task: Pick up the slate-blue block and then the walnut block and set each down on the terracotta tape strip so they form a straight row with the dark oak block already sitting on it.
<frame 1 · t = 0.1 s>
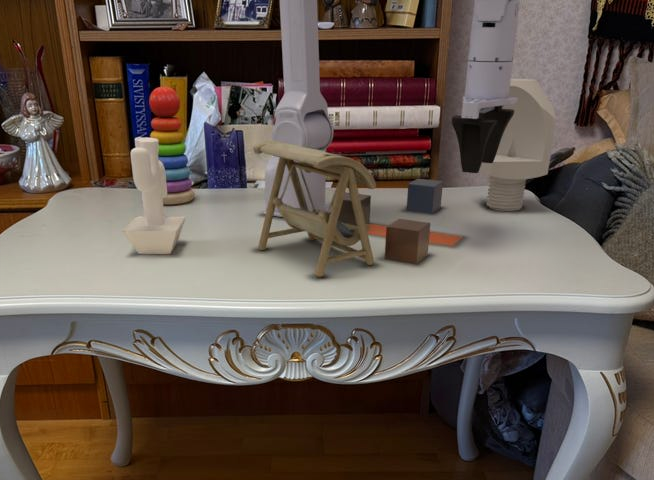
hand: (478, 167, 93), 10 cm above the table, tool pointing down, fingers open, 7 cm apart
walnut block: (406, 257, 90), on the table
slate block: (423, 209, 112), on the table
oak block: (350, 225, 103), resting on line strip
stacking toy: (172, 201, 118), on the table
swing bench: (313, 258, 90), on the table
figurine: (158, 250, 93), on the table
light fixture: (503, 208, 113), on the table
line strip: (389, 232, 100), on the table
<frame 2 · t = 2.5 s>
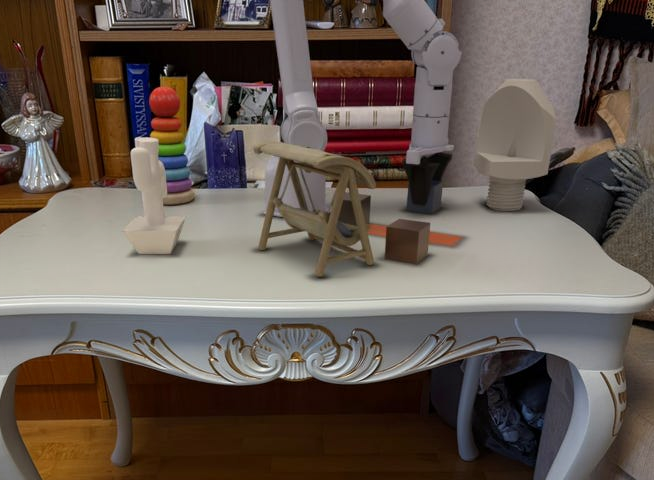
hand: (424, 201, 111), 1 cm above the table, tool pointing down, fingers closed on slate block, 4 cm apart
slate block: (423, 209, 112), on the table, touching gripper
everything else where it was.
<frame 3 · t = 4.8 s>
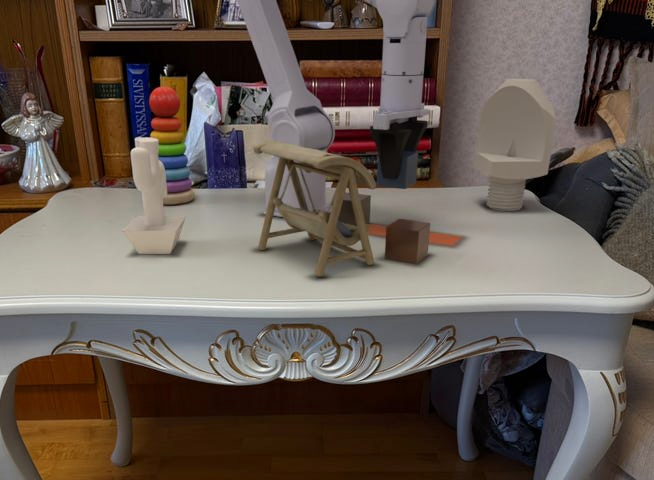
hand: (396, 174, 97), 8 cm above the table, tool pointing down, fingers closed on slate block, 4 cm apart
slate block: (396, 184, 98), point 7 cm above the table, touching gripper
everything else where it was.
when the fingers open (1 cm above the table, at t = 6.9 s): slate block stays where it is, resting on line strip.
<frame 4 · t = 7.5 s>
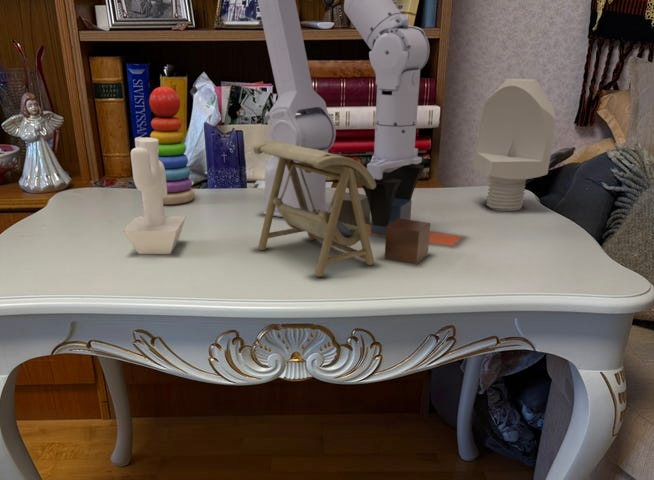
hand: (390, 219, 99), 2 cm above the table, tool pointing down, fingers open, 7 cm apart
slate block: (390, 231, 100), resting on line strip
everything else where it was.
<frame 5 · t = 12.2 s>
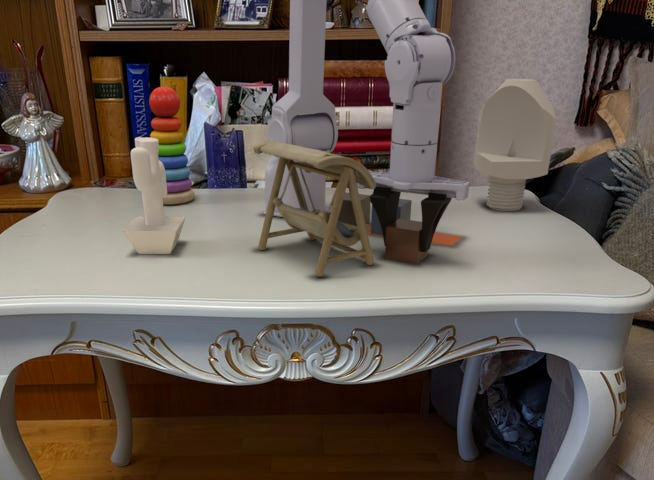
hand: (406, 247, 89), 1 cm above the table, tool pointing down, fingers closed on walnut block, 4 cm apart
walnut block: (406, 257, 90), on the table, touching gripper
everything else where it was.
when the fingers open (1 cm above the table, at t = 16.2 s): walnut block stays where it is, resting on line strip.
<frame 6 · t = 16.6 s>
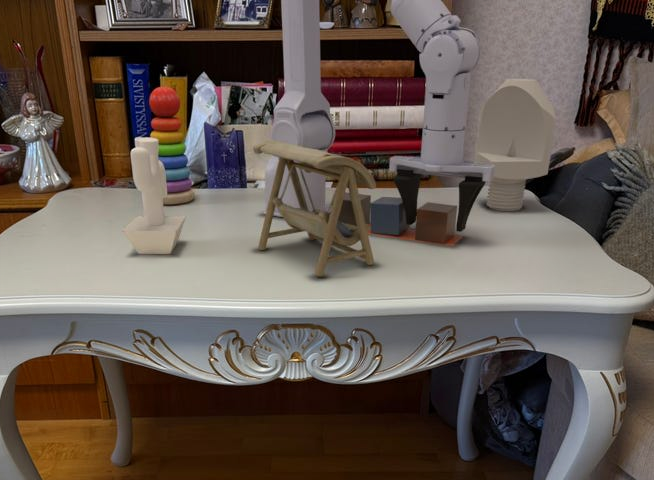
hand: (435, 226, 96), 2 cm above the table, tool pointing down, fingers open, 7 cm apart
walnut block: (434, 237, 97), resting on line strip
slate block: (390, 230, 100), resting on line strip, touching gripper
everything else where it was.
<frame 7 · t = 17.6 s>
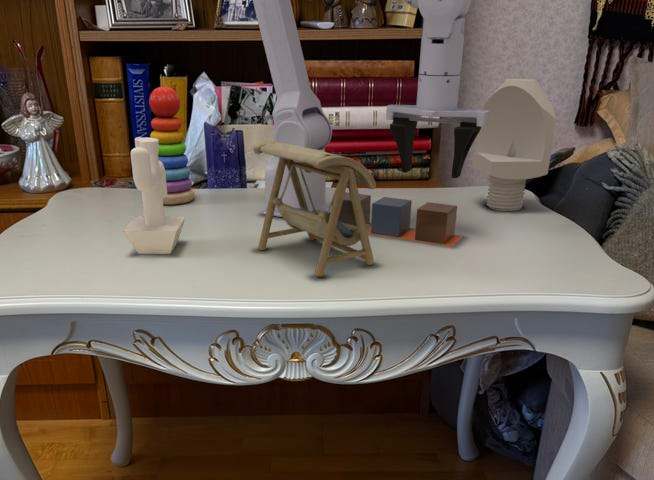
hand: (430, 174, 98), 8 cm above the table, tool pointing down, fingers open, 7 cm apart
slate block: (390, 231, 100), resting on line strip
everything else where it was.
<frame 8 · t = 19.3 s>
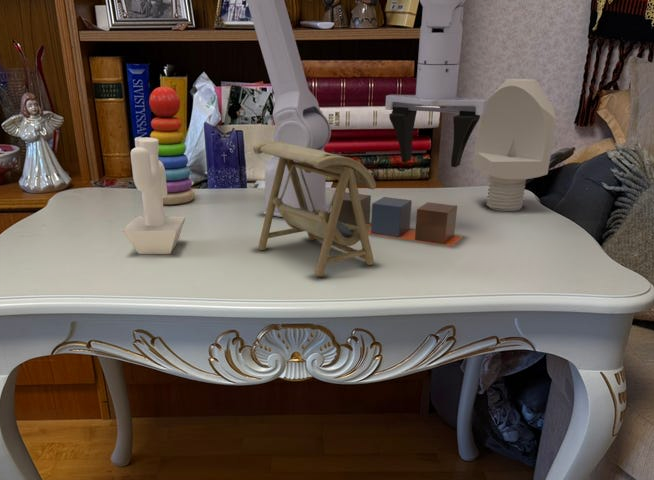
hand: (430, 163, 99), 9 cm above the table, tool pointing down, fingers open, 7 cm apart
nothing on the table moved.
at the end: walnut block 0.6 cm from the target spot on the line strip, point 0.1 cm above the line strip's base; slate block 0.1 cm off-centre on the line strip, point 0.1 cm above the line strip's base; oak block moved 0.0 cm from its start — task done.
